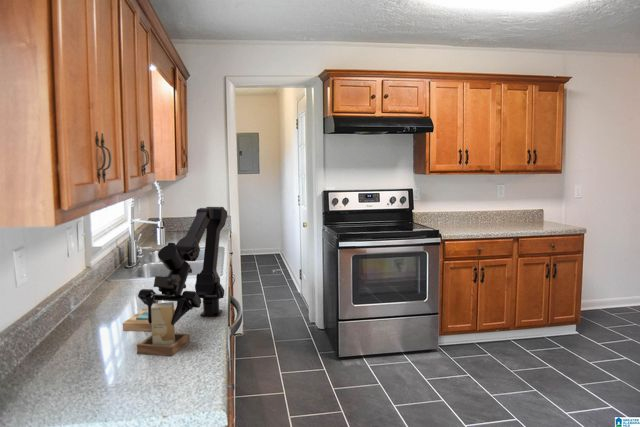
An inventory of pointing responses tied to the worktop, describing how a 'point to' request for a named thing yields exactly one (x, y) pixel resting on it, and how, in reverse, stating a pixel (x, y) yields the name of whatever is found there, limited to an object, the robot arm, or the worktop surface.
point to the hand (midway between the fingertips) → (160, 323)
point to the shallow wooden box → (139, 322)
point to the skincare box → (162, 324)
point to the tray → (149, 348)
